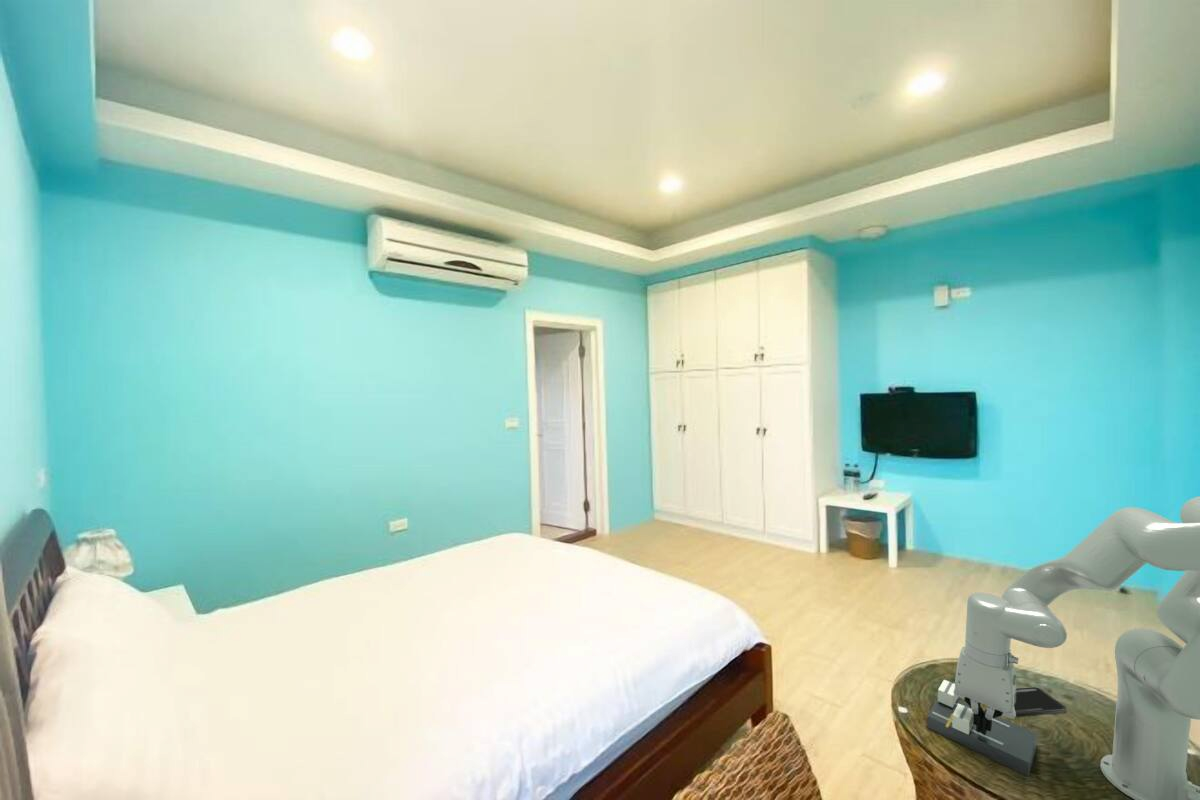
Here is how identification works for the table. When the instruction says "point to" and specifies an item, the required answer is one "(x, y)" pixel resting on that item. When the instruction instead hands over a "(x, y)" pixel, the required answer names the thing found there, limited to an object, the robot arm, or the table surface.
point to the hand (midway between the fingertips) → (982, 729)
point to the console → (988, 737)
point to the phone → (1036, 702)
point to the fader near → (963, 719)
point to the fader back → (947, 693)
